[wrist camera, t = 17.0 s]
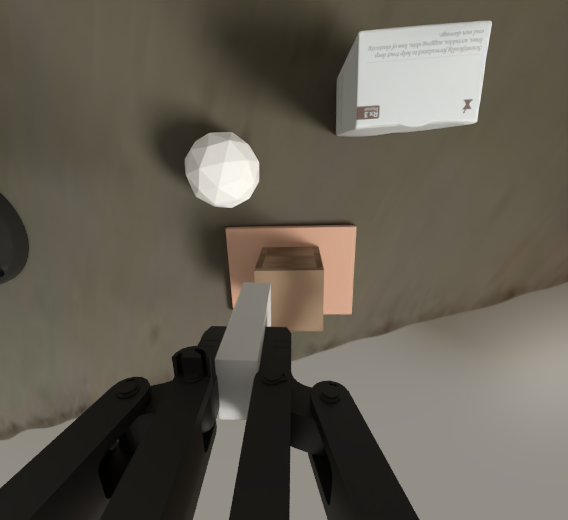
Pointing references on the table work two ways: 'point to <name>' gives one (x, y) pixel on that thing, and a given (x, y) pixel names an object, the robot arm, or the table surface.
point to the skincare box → (412, 79)
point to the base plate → (329, 238)
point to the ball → (222, 169)
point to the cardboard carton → (293, 286)
